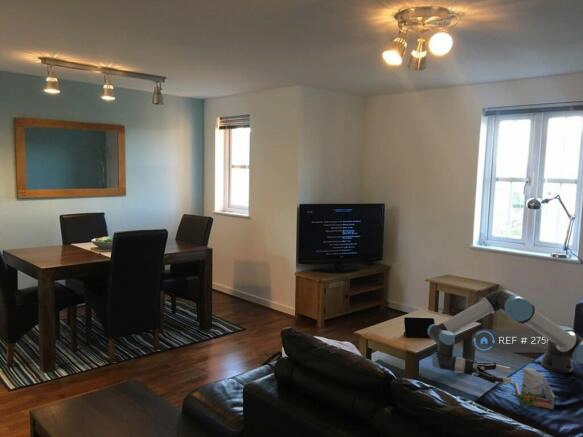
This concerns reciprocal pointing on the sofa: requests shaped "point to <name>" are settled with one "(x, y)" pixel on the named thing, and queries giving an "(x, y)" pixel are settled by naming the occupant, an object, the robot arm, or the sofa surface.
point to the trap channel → (541, 402)
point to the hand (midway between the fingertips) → (510, 375)
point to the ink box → (532, 382)
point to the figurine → (525, 399)
